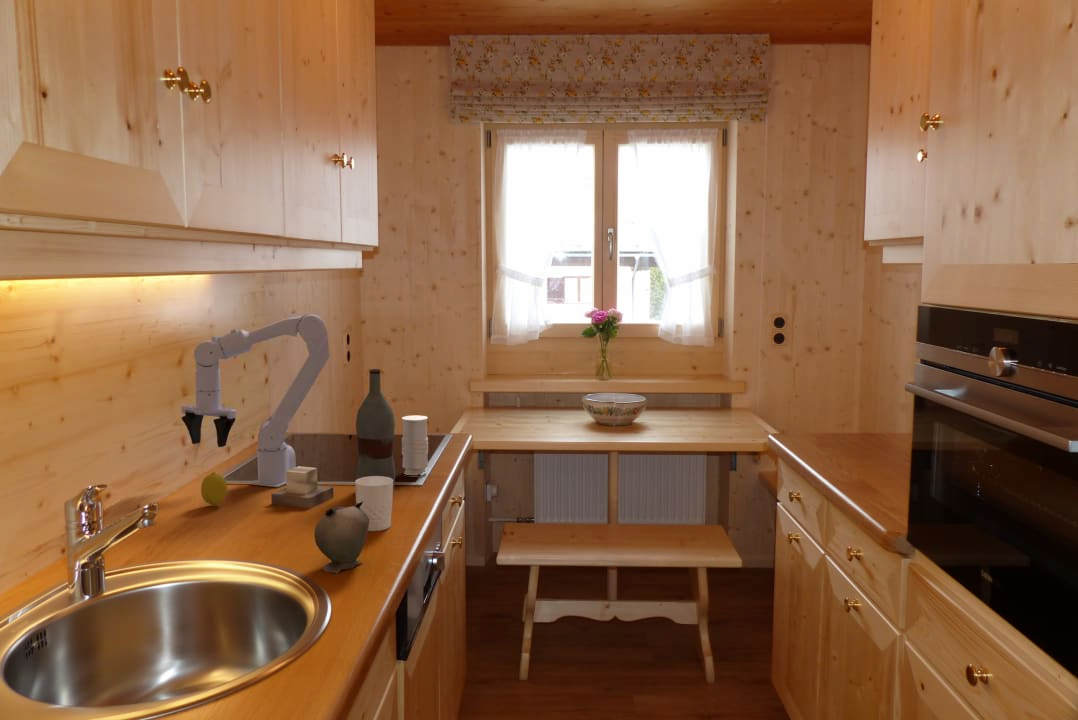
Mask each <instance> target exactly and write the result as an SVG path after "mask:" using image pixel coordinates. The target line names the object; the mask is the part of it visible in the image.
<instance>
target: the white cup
mask: <svg viewBox="0 0 1078 720" xmlns="http://www.w3.org/2000/svg"><path fill="white" fill-rule="evenodd" d="M354 486H355V487H354V488H355V490H354V491H355V503H356V504H355V505H357V503H361V502H362V501H363V503H362V505H361V506H360V509H361V510H362V511H363V512H364V513H365V514H366V515H367V517H368V518H369V519H370V520H369V527H368V531H367V532H381V531H385V530H387V529H389V528H390V527H391V525H392V512H393V494H394V493H393V492H394V488H393V479H391V478H389V477H384V476H369V477H363V478H359V479H357V478H356V480H355V481H354Z"/></svg>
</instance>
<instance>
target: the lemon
mask: <svg viewBox="0 0 1078 720" xmlns="http://www.w3.org/2000/svg"><path fill="white" fill-rule="evenodd" d="M200 493H201V497H202V499H203V500H204V502H205V503H207V504H209V505H211V506H212V507H217V506H218V504H220V503H222V502H223V501H224V500H225V499H226V496H227V494H228V485H227V481H226V479H225V478H224V476H223V475H221V474H220V473H216V472H215V471H212V472H211V473H209V474H207V475H206V476H205V477H204V478H203V480H202V483H201V486H200Z"/></svg>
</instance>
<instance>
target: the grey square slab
mask: <svg viewBox="0 0 1078 720" xmlns="http://www.w3.org/2000/svg"><path fill="white" fill-rule="evenodd" d="M270 496H271V505H273V506H274V505H275V506H280V507H281V506H282V507H288V508H289V507H291V508H297V509H306V510H310V509H313V508H314V507H316V506H318V505H321V504H322V503H326V502H327V501H329V500H331V499H333V498H334V487H333V486H326V485H324V486H323V485H318V484H317V489H316V490H314V491H312V492H309V493H307V494H297V493H288V492H287V488H286V487H284V488H282V489H280V490H276V491H275V492H272V493H271V495H270Z"/></svg>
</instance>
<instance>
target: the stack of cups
mask: <svg viewBox="0 0 1078 720" xmlns="http://www.w3.org/2000/svg"><path fill="white" fill-rule="evenodd" d="M401 421H402V437H401V455H402V464H401V465H402V468H404V470H405V471H404V473H403V475H404V474H406V475H418V474H421V473H423V472H425V471H426V468H428V467H429V460H428V454H429V442H428V441H429V437H428V416H426V415H414V414H413V415H406V416H402V417H401ZM406 475H405V476H406Z"/></svg>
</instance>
